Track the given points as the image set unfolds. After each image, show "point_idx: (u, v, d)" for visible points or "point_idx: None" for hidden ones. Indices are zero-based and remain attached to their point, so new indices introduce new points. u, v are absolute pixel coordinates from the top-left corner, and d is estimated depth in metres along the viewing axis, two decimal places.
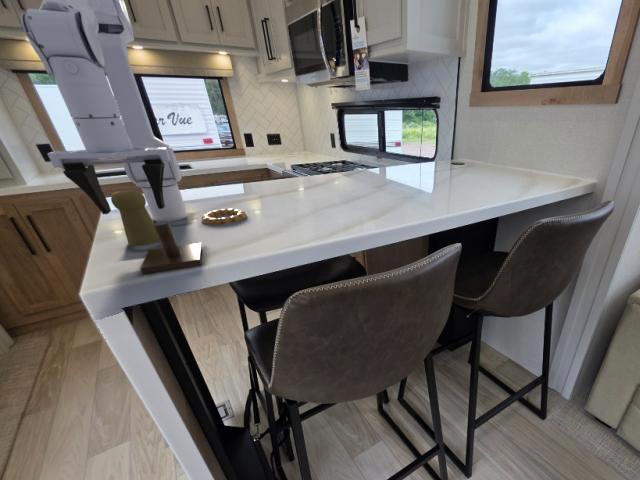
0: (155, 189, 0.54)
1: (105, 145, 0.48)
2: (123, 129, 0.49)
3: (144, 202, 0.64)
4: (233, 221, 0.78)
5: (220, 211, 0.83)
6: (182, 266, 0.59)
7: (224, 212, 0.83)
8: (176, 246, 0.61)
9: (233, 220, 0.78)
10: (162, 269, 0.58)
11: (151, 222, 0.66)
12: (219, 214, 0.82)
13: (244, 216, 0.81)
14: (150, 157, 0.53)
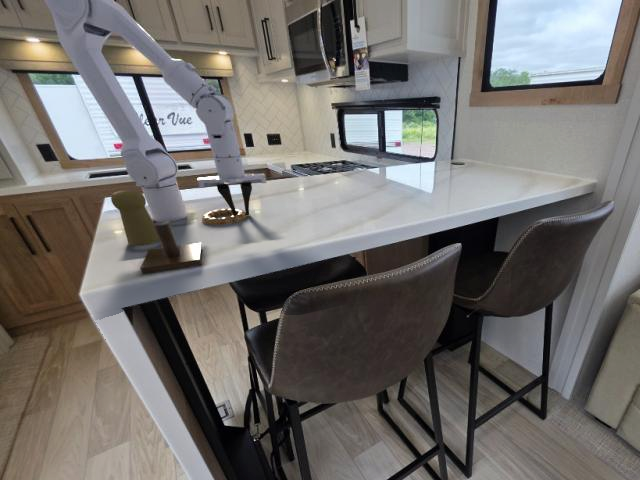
0: (246, 202, 0.80)
1: (232, 174, 0.75)
2: (241, 163, 0.77)
3: (144, 202, 0.64)
4: (233, 221, 0.78)
5: (220, 211, 0.83)
6: (182, 266, 0.59)
7: (224, 212, 0.83)
8: (176, 246, 0.61)
9: (233, 220, 0.78)
10: (162, 269, 0.58)
11: (151, 222, 0.66)
12: (219, 214, 0.83)
13: (244, 216, 0.81)
14: (255, 180, 0.80)
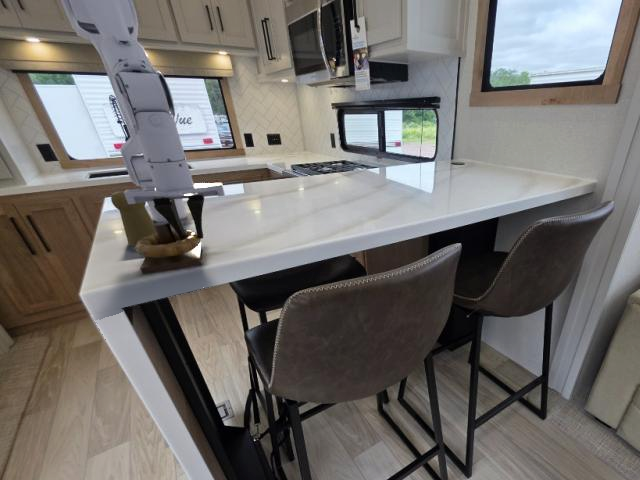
0: (197, 222, 0.59)
1: (173, 185, 0.54)
2: (188, 169, 0.56)
3: (144, 202, 0.64)
4: (178, 248, 0.57)
5: None
6: (182, 266, 0.59)
7: None
8: None
9: (178, 248, 0.57)
10: (162, 269, 0.58)
11: (151, 222, 0.66)
12: None
13: (195, 240, 0.60)
14: (208, 192, 0.59)
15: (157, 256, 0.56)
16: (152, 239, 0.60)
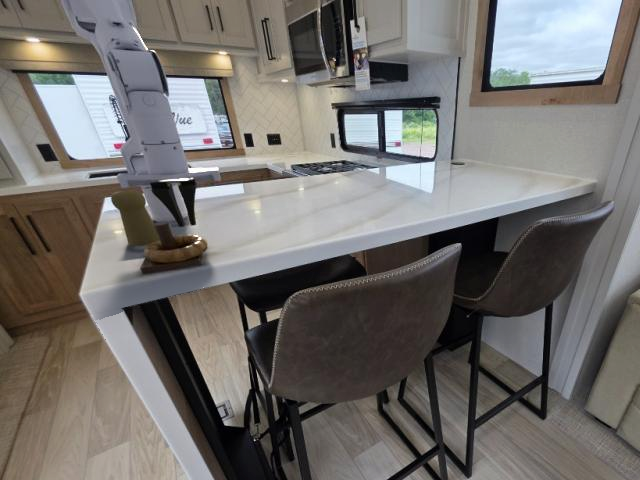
0: (189, 207, 0.58)
1: (168, 168, 0.53)
2: (182, 152, 0.54)
3: (144, 202, 0.64)
4: (186, 254, 0.58)
5: None
6: (182, 266, 0.59)
7: (178, 239, 0.63)
8: (176, 246, 0.61)
9: (185, 253, 0.58)
10: (162, 269, 0.58)
11: (151, 222, 0.66)
12: None
13: (203, 246, 0.61)
14: (204, 176, 0.58)
15: (165, 261, 0.57)
16: (160, 244, 0.61)
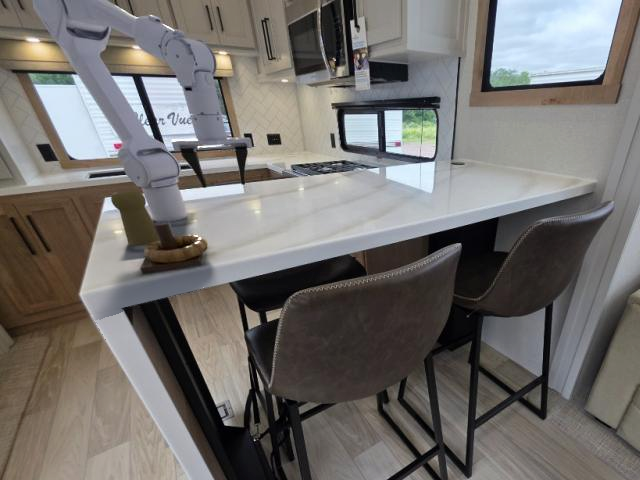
0: (241, 169, 0.71)
1: (212, 135, 0.65)
2: (223, 123, 0.67)
3: (144, 202, 0.64)
4: (186, 254, 0.58)
5: None
6: (182, 266, 0.59)
7: (178, 239, 0.63)
8: (176, 246, 0.61)
9: (185, 253, 0.58)
10: (162, 269, 0.58)
11: (151, 222, 0.66)
12: None
13: (203, 246, 0.61)
14: (239, 144, 0.70)
15: (165, 261, 0.57)
16: (160, 244, 0.61)
